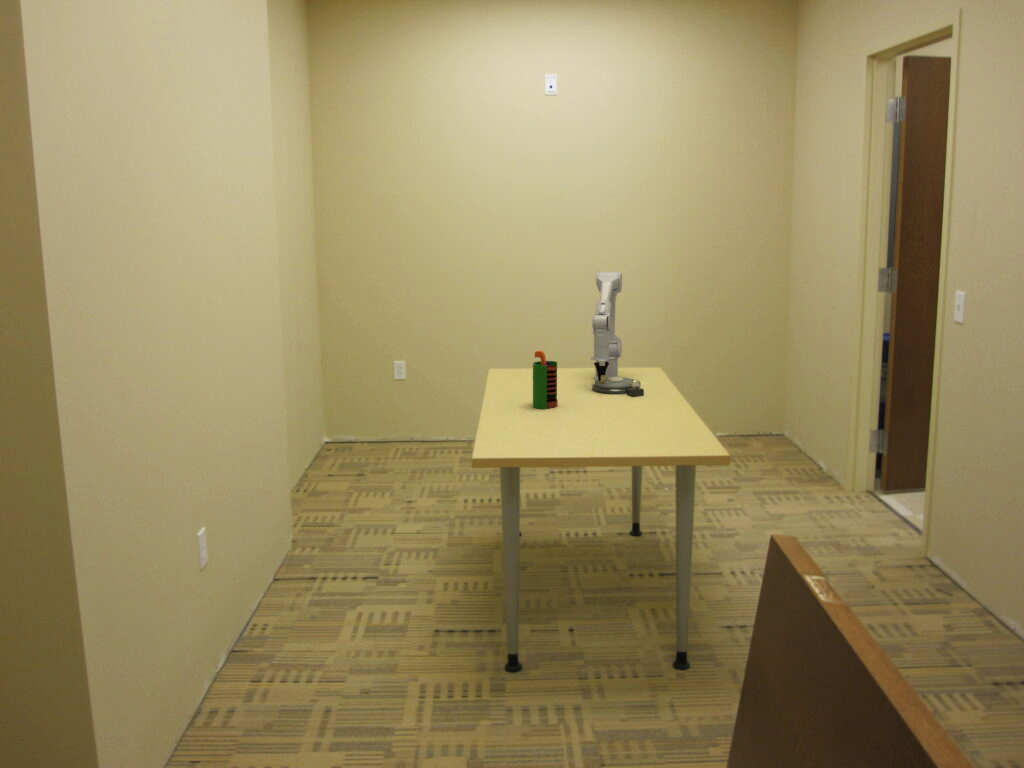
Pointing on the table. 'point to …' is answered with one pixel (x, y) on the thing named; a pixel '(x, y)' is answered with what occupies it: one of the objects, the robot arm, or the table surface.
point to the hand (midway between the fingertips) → (601, 380)
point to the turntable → (614, 382)
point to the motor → (544, 382)
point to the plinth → (608, 390)
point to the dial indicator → (635, 389)
